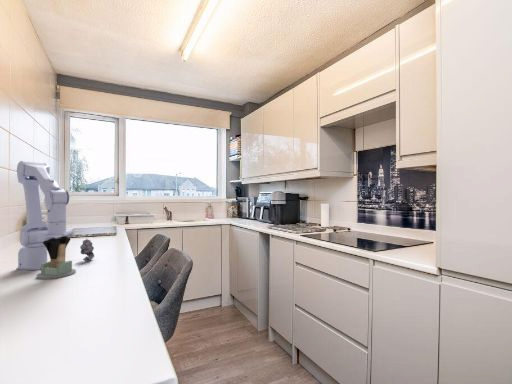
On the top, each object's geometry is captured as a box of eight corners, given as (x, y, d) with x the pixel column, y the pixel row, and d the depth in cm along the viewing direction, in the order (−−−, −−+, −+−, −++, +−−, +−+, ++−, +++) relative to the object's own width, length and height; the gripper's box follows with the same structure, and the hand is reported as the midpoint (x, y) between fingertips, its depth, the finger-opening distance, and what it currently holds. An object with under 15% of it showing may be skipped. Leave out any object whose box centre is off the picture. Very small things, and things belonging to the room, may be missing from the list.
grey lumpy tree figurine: (89, 261, 126) (89, 239, 126) (78, 262, 126) (77, 239, 126) (96, 259, 131) (96, 237, 131) (85, 259, 131) (85, 237, 131)
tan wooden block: (50, 268, 105) (51, 244, 105) (55, 266, 107) (56, 243, 107) (59, 269, 104) (60, 244, 104) (64, 267, 107) (65, 243, 107)
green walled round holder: (27, 278, 101) (27, 265, 101) (56, 269, 113) (56, 258, 113) (57, 279, 99) (57, 266, 99) (83, 270, 111) (83, 259, 111)
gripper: (49, 223, 98) (49, 262, 98) (81, 220, 113) (81, 254, 113) (31, 223, 99) (31, 262, 99) (65, 220, 114) (65, 253, 114)
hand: (56, 258), depth 106 cm, fingers closed on tan wooden block, 2 cm apart
